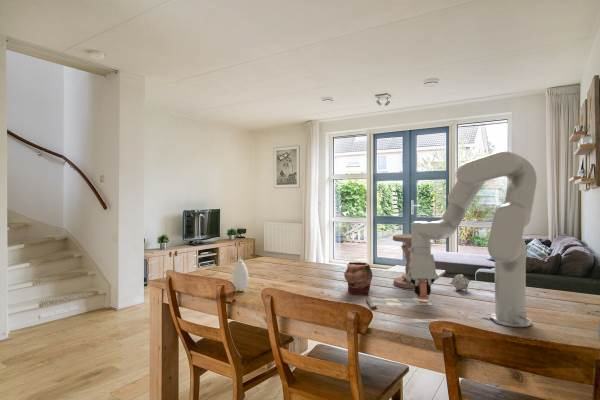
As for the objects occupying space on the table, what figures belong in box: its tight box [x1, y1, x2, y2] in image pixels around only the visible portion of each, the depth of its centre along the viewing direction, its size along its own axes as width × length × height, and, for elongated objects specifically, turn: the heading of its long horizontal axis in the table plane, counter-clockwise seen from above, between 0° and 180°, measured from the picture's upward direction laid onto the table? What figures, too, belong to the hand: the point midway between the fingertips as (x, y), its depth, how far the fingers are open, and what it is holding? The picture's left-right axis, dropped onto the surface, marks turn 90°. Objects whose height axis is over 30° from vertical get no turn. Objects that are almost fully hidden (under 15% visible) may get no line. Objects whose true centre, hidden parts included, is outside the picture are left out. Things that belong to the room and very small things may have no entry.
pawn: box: [416, 279, 430, 301], centre depth 149 cm, size 5×5×10 cm
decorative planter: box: [343, 261, 373, 296], centre depth 171 cm, size 20×12×14 cm, turn 148°
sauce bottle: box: [231, 256, 250, 291], centre depth 176 cm, size 8×8×18 cm
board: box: [366, 297, 433, 310], centre depth 150 cm, size 12×26×1 cm, turn 88°
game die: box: [449, 272, 472, 293], centre depth 170 cm, size 9×8×10 cm
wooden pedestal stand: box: [392, 233, 419, 290], centre depth 183 cm, size 18×18×25 cm
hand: (422, 294), depth 149 cm, fingers closed on pawn, 3 cm apart
